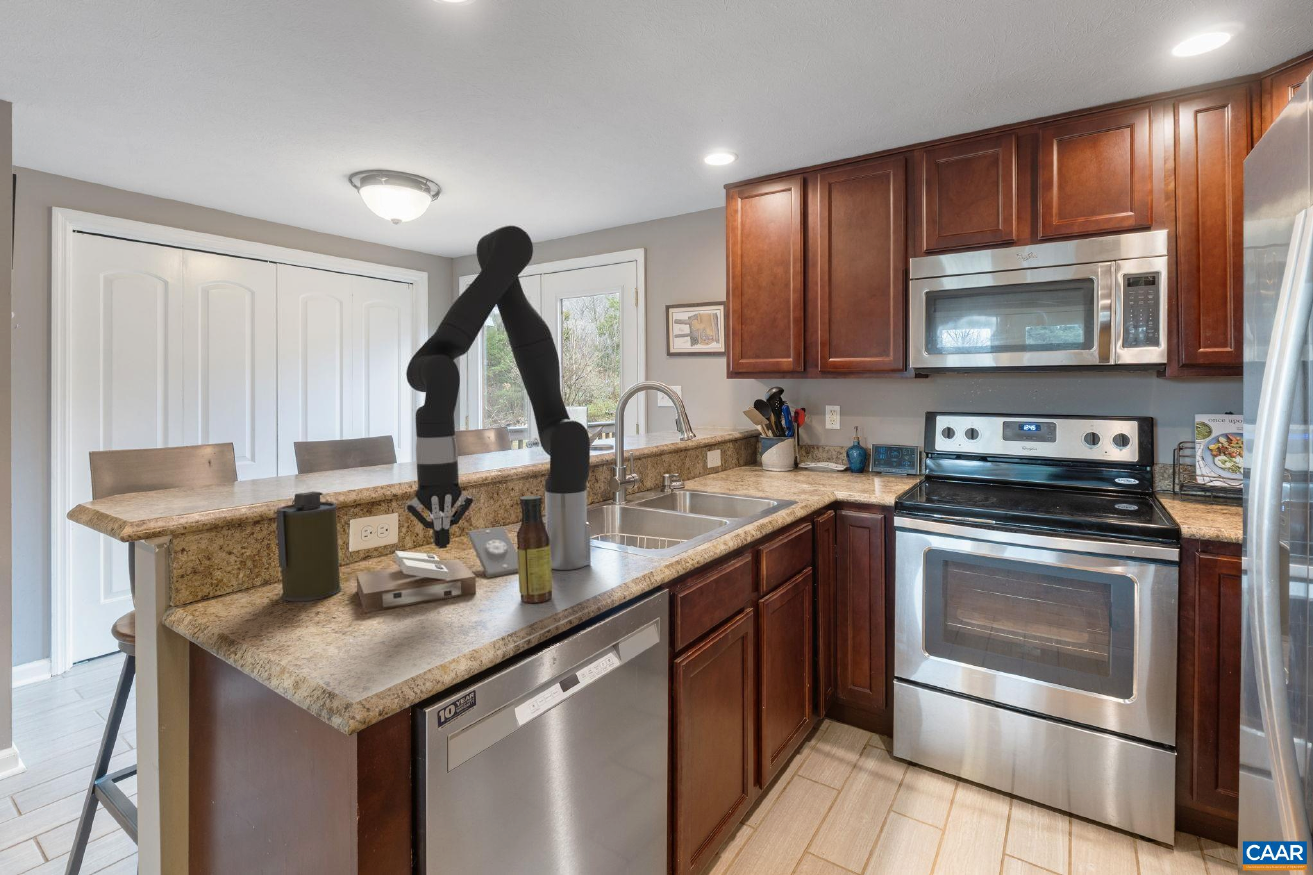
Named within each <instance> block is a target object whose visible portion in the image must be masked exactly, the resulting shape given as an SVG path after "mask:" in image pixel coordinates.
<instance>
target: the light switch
mask: <svg viewBox="0 0 1313 875" xmlns="http://www.w3.org/2000/svg"><path fill="white" fill-rule="evenodd" d="M467 537H468V540H469V541H470V544H471V545H472V548H473V550H474V552H475V554H476V557H477V558H478V561H479V563H480V564H481V568H482V569H483V572H484V574H485V576H486V577H487V578H493V577H494V578H495V577H499V576H505V575H509V574H510V575H511V574H516V573H518V556H517V548H515V546H514V543H513V542H512V540H511V538H510V537H509V534H508V533H507V531H506V529H505V527H504V526H496V527H494V526H493V527H487V528H480V529H479V528H478V529H473V530H468V531H467Z"/></svg>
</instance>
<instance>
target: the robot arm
mask: <svg viewBox="0 0 1313 875" xmlns="http://www.w3.org/2000/svg"><path fill="white" fill-rule="evenodd" d="M533 254H534V245H533V241H532V239H531V237H530V235H529V234H528V232H527V231H526V230H524V229H523V228H521V227H520V226H517V225H510V224H509V225H505V226H501V227H499V228H497V229H494V230H493V231H490V232H489V233H487V234H485V235H483V236H482V237H481V238H480V239H479V240H478V242H477V245H476V258H477V261H478V265H479V267H480V269H481V271H480V272H479V273H478V275H477V276H476V277H475V278H474V280H473V281H472V282H471V283H470V284H469V285H468V287H466V289H465V290H464V291H463V292H462V293H461V294H460V295H459V296H458V298H456V300H455V301H454V302H453V303H452V305H451V306H450V307H449V309H448V311H447V312H446V314H445V315H444V317H443V319H442V320H441V322H440V324H439V325H438V326H437V328H436V330H435V332H434V333H433V334H432V335H431V336H430V338H428V339H427V340H426V341H425V342H424V343H423V344H422V346H420V347H419V348H418V350H417V351H416V352H415V354H413V356H412V357H411V359H410V360H409V362H408V365H407V368H406V372H405V375H406V380H407V383H408V385H409V387H411V388H412V389H413V390H415V391H417V392H421V393H425V395H424V396H425V397H424V404H423V405H421V406H420V407H418V408H417V409H416V411H415V431H416V432H415V433H416V435H415V436H416V441H415V442H416V443H415V459H416V460H415V461H416V477H417V478H416V479H417V490H416V492H415V495H414V496H415V497H414V498H413V499H412V500H411V501H410V502H407V503H405V504H404V509H406V510H407V511H408V512H409V513H410V514H411V515H412V516H413V517H414V518H415V519H416V520H417V522H418V523H420V524H421V525H422V526H423V528H424V529H428V530H429V529H431V530H432V539H433V542H432V543H433V545H434V546H435V547H436V548H437V549H438V550H441V549H447V548H448V545H450V543H451V536H450V535H451V534H450V528H451V527H453V526H455V525H458V524H459V523H460V521H461V520H462V519H463V517H464V516H465V514H467V511H468V509H470V507H471V506H472V504H473V503H474V499H473V498H472V497H470V496H468V495H466V494H464V493H463V491H462V488H461V486H460V483H459V482H460V478H459V463H458V461H459V460H458V459H459V453H458V446H457V440H456V430H455V411H456V407H457V403H458V402H457V401H458V397H459V396H458V395H459V390H460V385H461V383H460V382H461V375H460V371H459V368H458V365H457V364H456V362H455V360H456V359H457V358H459V357H462V356H464V355H465V354H467V353H468V351H469V350H470V349H471V347H472V346H473V344H474V343H475V340H476V339H477V337H478V335H479V333H480V331H481V330H482V328H483V326H484V325H485V323H486V321H487V320H488V318H489V316H490V314H491V313H492V312H493V310H494V308H495V307H497V310H498V312H499V313H498V314H499V315H500V318H501V322H502V324H503V327H504V330H505V333H506V336H507V338H508V343H509V345H510V349H511V351H512V354H513V357H514V361H515V364H516V366H517V369H518V371H519V375H520V377H521V379H522V384H523V385H524V389H525V391H526V393H527V396H528V399H529V401H530V404H531V408H532V411H533V415H534V420H535V425H536V430H537V433H538V437H539V438H538V439H539V442H540V446H541V447H542V450H543V452H544V453H546V454H547V455H548V456H549V457H550V458H549V471H548V472H549V473H548V475H547V477H546V478H545V480H544V495H545V496H544V497H545V498H544V502H545V503H544V504H545V528H546V531H547V534H548V536H549V539H550V553H551V570H560V571H570V570H576V569H581V568H584V567H586V566H589V565H591V564H592V563H591V562H592V561H591V560H592V559H591V557H592V556H591V554H592V553H591V552H592V551H591V524H590V522H588V520H587V517H588V516H587V482H588V480H589V476H590V463H591V462H590V461H591V460H590V459H591V458H590V457H591V456H590V455H591V442H590V440H591V439H590V435H589V431H588V430H587V428H586V427H585V425H584V424H582V423H581V422H579V421H577V420H572V419H571V417H570V416H569V413H568V410H567V407H566V405H565V402H564V400H563V399H564V398H563V397H562V396H563V395H562V390H561V370H560V359H559V355H558V354H559V353H558V351H557V348H556V344H555V341H554V337H553V335H552V332H551V329H550V327H549V326H548V325H547V323H546V321H545V320H544V319H543V317H542V316H541V315H540V314H539V313H538V311H537V310H536V309H535V307H534V306H533V305H532V304H531V302H530V301H529V300H528V298H527V297H526V294H525V293H524V290H523V288H522V284H521V281H520V277H519V276H520V274H521V273H522V272H523V271H524V270H525V268H526V267H527V266H528V265H529V263H530V262H531V261H532V258H533ZM457 502H458V504H459V505H458V506H457V508H456V509H455V511H454V512H453V513H452V509H453V508H455V505H456V504H457ZM420 504H421V506H423V508H424V509H425V510H427V512H428V513H429V516H430V520H428V519H427V518H426V516H423V514H422V513H421V512H420V509H421V506H420Z"/></svg>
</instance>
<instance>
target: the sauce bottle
mask: <svg viewBox="0 0 1313 875" xmlns="http://www.w3.org/2000/svg"><path fill="white" fill-rule="evenodd" d="M542 498H543V497H542V496H541V495H535V494H534V495H533V494H532V495H525V496H521V497H520V499H519V504H520V506H521V507H520V508H521V522H520V526H519V528H518V530H517V533H516V542H517V544H516V545H517V547H516V551H517V556H518V572H517V573H518V587H519V588H518V590H519V594H520V600H521V601H522V602H524V603H525V602H526V603H529V604H538V603H539V604H540V603H544V602H547V601H549V600H550V599H551V598H552V597H553V595H552V594H553V592H552V590H553V573H552V572H553V571H552V568H551V553H550V539H549V536H548V534H547V531H546V524H545V523H544V520H543V515H542V514H543V513H542V504H543V500H542Z"/></svg>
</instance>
